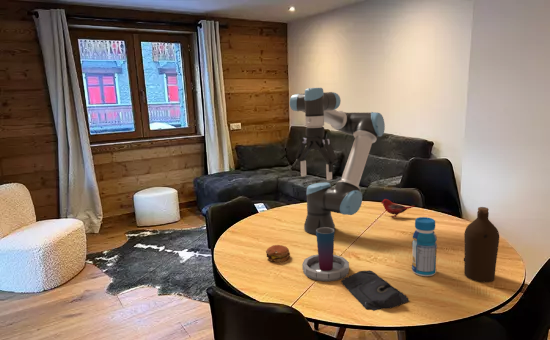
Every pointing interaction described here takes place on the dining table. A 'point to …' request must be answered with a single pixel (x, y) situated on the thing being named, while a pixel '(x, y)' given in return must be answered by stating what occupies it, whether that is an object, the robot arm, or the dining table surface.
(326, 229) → the cup
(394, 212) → the decorative bird figurine
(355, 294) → the dark slate chunk
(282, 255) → the burger
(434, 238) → the beverage bottle
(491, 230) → the olive oil
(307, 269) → the tray
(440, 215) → the dining table surface
